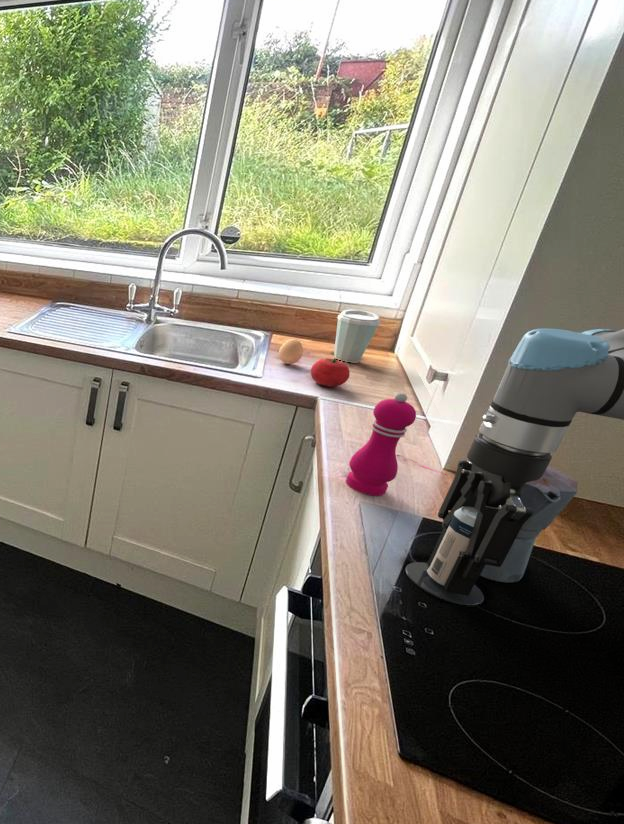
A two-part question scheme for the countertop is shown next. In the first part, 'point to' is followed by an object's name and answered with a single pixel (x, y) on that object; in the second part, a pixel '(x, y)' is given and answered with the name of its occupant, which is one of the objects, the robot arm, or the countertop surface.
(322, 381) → the tomato
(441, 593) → the slate coaster
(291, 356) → the egg
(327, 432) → the countertop surface
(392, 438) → the pepper mill
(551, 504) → the moka pot
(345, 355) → the disposable coffee cup
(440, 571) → the beer can
